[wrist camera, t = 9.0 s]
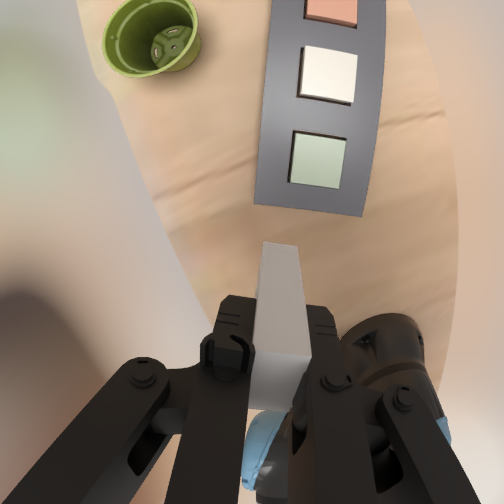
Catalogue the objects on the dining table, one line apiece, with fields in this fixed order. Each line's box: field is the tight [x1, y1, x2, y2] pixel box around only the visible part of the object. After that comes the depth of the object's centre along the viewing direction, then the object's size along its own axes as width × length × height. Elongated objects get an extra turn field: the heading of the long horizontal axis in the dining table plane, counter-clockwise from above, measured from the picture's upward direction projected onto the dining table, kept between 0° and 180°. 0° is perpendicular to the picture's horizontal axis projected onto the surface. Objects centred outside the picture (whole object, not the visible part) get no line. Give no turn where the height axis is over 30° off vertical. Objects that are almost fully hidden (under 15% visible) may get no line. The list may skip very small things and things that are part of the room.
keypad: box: [254, 0, 386, 217], centre depth 25 cm, size 29×12×3 cm, turn 175°
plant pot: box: [102, 0, 201, 78], centre depth 22 cm, size 9×9×9 cm
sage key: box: [289, 132, 346, 189], centre depth 28 cm, size 5×5×3 cm
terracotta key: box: [305, 0, 357, 28], centre depth 20 cm, size 5×5×3 cm
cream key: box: [299, 46, 358, 104], centre depth 24 cm, size 5×5×3 cm
